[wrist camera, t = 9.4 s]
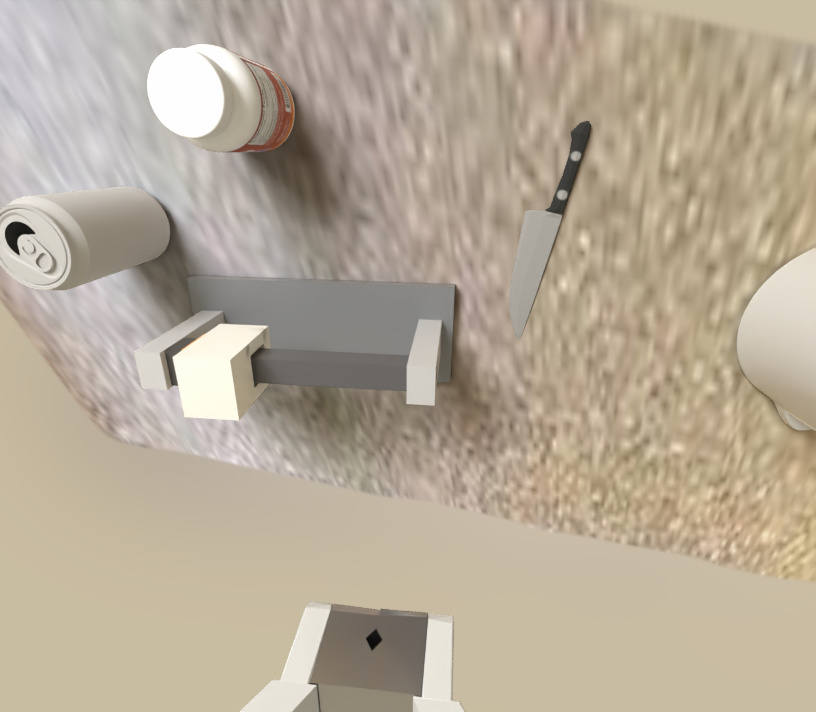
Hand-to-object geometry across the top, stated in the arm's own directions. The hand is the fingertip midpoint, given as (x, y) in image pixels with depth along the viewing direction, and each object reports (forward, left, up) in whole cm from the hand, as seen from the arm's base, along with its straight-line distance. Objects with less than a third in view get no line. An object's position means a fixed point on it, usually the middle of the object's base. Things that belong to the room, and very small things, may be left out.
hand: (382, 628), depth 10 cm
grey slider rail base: (+11, +6, -34) cm, 36 cm away
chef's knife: (-7, -2, -35) cm, 35 cm away
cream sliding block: (+15, +6, -28) cm, 32 cm away
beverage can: (+27, -3, -34) cm, 44 cm away
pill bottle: (+15, -12, -34) cm, 39 cm away
